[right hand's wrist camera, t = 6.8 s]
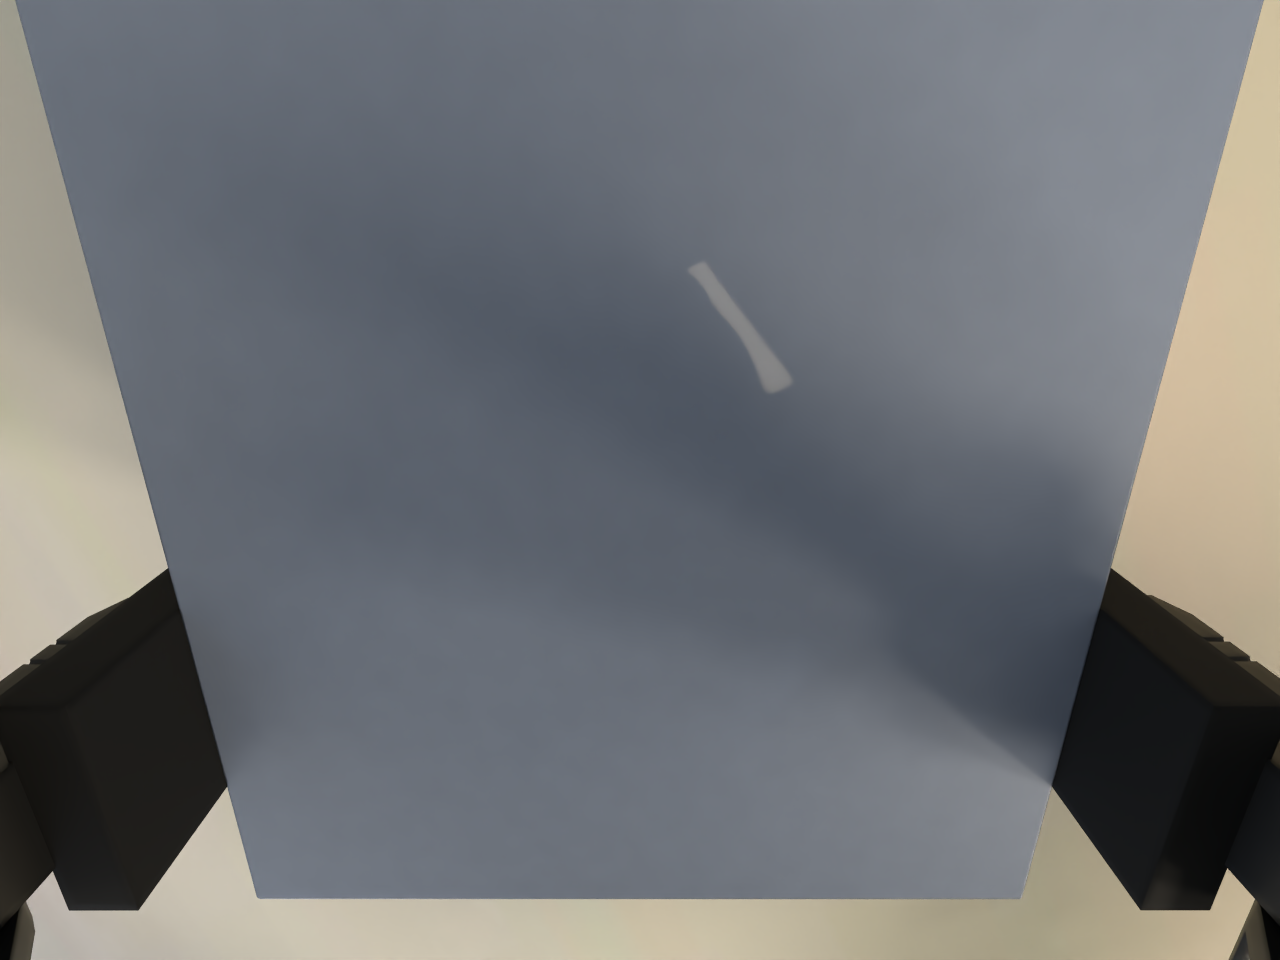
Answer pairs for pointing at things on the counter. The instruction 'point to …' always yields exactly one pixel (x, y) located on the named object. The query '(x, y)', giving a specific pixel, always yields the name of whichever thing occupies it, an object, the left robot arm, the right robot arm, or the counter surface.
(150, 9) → the cabinet
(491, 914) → the counter surface
